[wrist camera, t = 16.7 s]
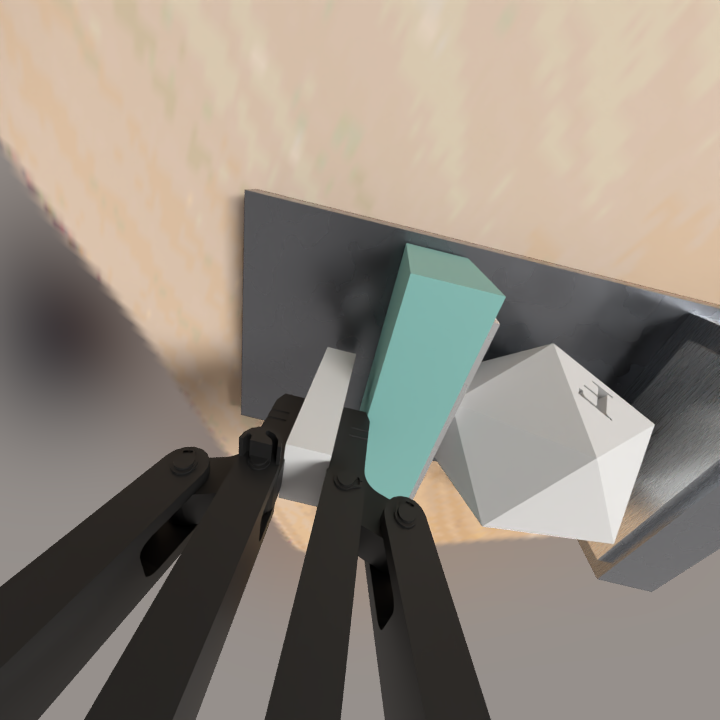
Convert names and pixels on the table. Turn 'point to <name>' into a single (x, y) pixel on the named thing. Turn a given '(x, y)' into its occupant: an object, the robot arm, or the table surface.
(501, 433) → the die
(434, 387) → the bar
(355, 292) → the vise base
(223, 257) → the table surface
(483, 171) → the table surface
